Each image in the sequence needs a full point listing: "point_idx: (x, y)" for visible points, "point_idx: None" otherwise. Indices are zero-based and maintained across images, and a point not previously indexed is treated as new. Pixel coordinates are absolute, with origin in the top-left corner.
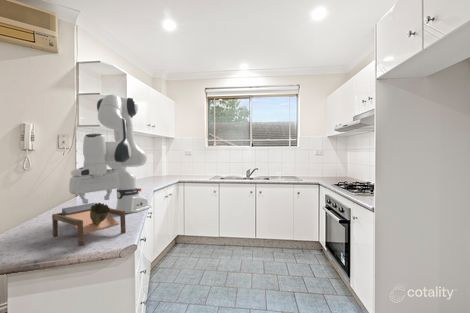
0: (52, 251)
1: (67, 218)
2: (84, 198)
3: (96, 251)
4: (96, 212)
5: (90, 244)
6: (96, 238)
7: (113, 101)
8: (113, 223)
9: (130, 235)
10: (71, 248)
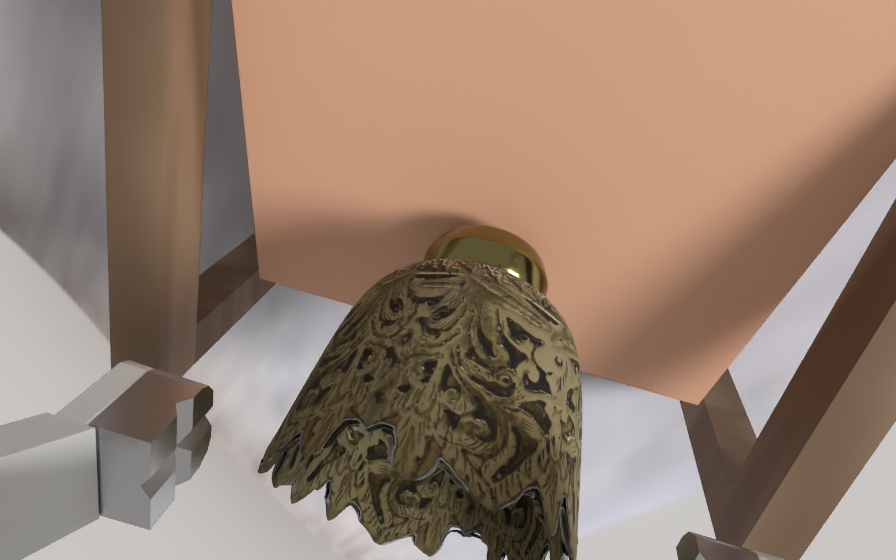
0: (96, 117)
1: (104, 52)
2: (35, 535)
3: (258, 446)
4: (506, 299)
5: (333, 302)
6: None
7: None
8: (641, 372)
9: (626, 476)
10: (208, 220)
